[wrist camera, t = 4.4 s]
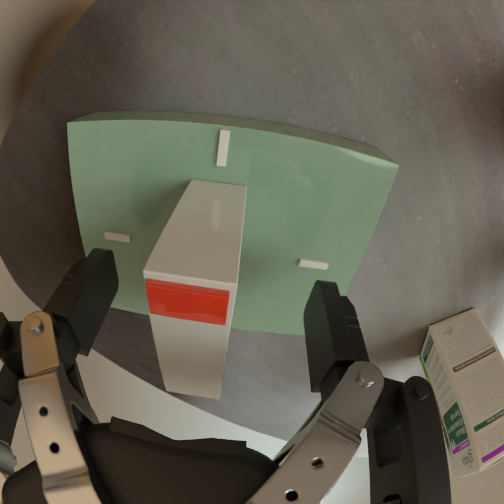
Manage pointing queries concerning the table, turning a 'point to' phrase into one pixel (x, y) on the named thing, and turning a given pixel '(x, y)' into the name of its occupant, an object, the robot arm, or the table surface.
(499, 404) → the syrup box
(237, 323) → the rotary switch
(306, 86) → the table surface
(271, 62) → the table surface
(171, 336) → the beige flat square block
